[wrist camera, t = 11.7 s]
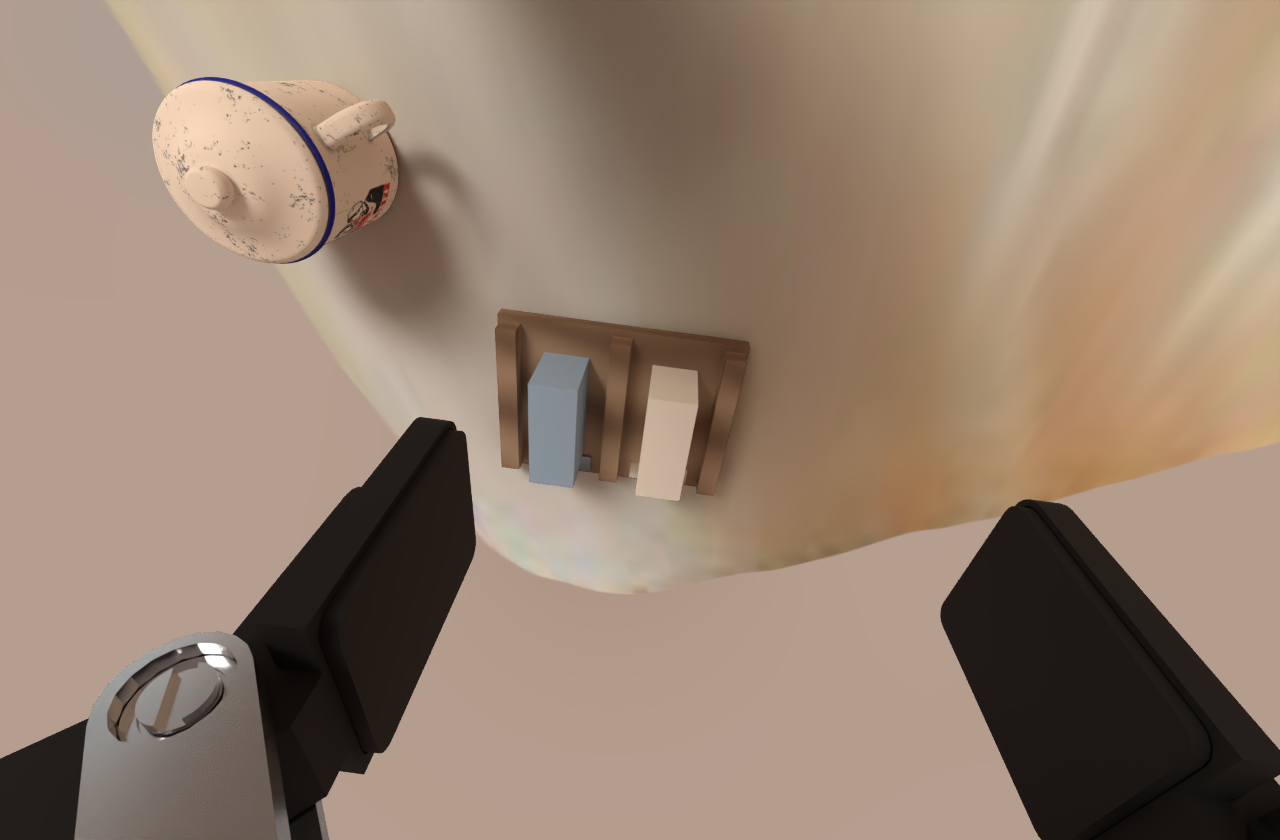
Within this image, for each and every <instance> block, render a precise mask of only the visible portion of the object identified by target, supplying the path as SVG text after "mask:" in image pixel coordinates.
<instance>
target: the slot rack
mask: <svg viewBox="0 0 1280 840" xmlns="http://www.w3.org/2000/svg"><path fill="white" fill-rule="evenodd" d="M497 315H498V325H497V327H496V328H495V341H496V361H497V381H498V401H499V420H500V440H501V460H502V467H506V468H513V469H519V468H520V466H521V463H527V464H529V429H528V383H529V381H530V379H531V377H532V375H533V373H534V371H535V369H536V367H537V365H538V364H539V362H540V360H541V358H542V356H543V354H544V352H548V353H555V354H563V355H570V356H578V357H585V358H589V371H588V388H587V404H586V421H585V438H584V451H583V455H582V458H581V462H580V465H579V469H578V470H579V471H586V472H593V473H600V475H599V480H602V481H609V482H616V481H617V476H623V477H630V478H637V477H638V469H639V462H640V454H641V447H642V440H643V432H644V425H645V418H646V410H647V403H648V396H649V388H650V381H651V374H652V366H653V365H657V366H665V367H672V368H679V369H687V370H694V371H698V410H697V415H696V420H695V425H694V430H693V435H692V440H691V444H690V449H689V454H688V459H687V464H686V469H685V474H684V479H683V484H682V485H689V486H696V487H697V494H705V495H712V496H714V493H715V489H716V485H717V481H718V477H719V473H720V469H721V465H722V461H723V457H724V453H725V449H726V445H727V441H728V437H729V433H730V429H731V425H732V421H733V417H734V413H735V408H736V404H737V400H738V396H739V392H740V388H741V384H742V380H743V376H744V372H745V368H746V364H747V358H748V354H749V350H750V346H749V342H745V341H737V340H730V339H722V338H715V337H707V336H700V335H692V334H685V333H677V332H670V331H662V330H655V329H647V328H640V327H632V326H625V325H617V324H610V323H602V322H595V321H587V320H580V319H573V318H565V317H558V316H550V315H543V314H535V313H528V312H520V311H513V310H505V309H501V310H500V311H499V313H498V314H497Z"/></svg>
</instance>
